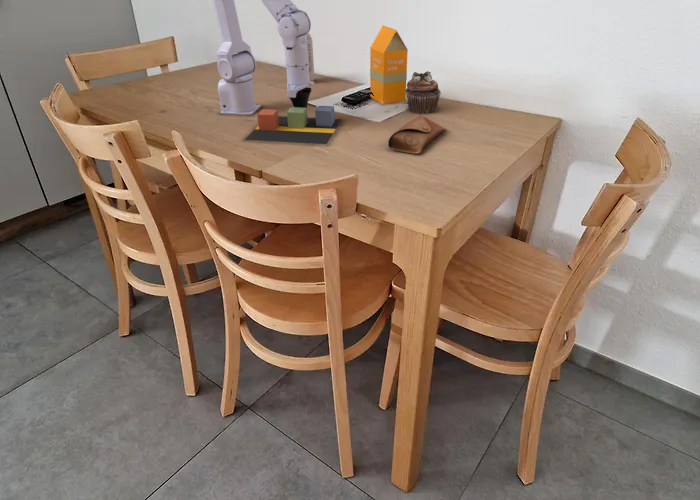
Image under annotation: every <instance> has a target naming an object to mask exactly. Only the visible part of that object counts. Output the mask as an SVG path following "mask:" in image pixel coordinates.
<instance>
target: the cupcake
mask: <svg viewBox="0 0 700 500" xmlns="http://www.w3.org/2000/svg"><path fill="white" fill-rule="evenodd" d="M432 75H433V74H432V73H431V71H428V70H427V71H425V72H424V73H418V72H417V71H414V72H413V73H412V75H411V79H410V80H408V81H407V82H406V101H407V107H408V110H409V111H410V112H413V113H416V114H421V113H422V114H431V113H434V112H436V111H437V108H438V105H439V100H440V97H441V94H442V91H441V90H440V89H439V83H438V82H437V81H436V80H435V79H433V77H432Z"/></svg>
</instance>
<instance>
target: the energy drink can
mask: <svg viewBox="0 0 700 500" xmlns="http://www.w3.org/2000/svg"><path fill="white" fill-rule="evenodd" d="M307 48H308V63H309V76H310V81H314V80H315V63H314V62H315V61H314V45H313V38H312V36H311V33H310V32H309V33H308V34H307Z"/></svg>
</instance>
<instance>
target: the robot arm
mask: <svg viewBox="0 0 700 500" xmlns="http://www.w3.org/2000/svg"><path fill="white" fill-rule="evenodd" d="M211 2H212V6H213V10H214V14H215V19H216V23H217V27H218V31H219V36H220V40H221V45H220V46H219V48H218V49H217V52H216V56H217V64H216V65H217V71H218V74H219V76H220V77H221V79H219V81H218V82H217V93H218V99H219V105H220V114H223V115H224V114H225V115H246V116H247V115H248V116H251V115H253V114H254V113H255V112H256V111H257V110H258V109H260V108H261V107H262V105H261V104H256V100H255V99H256V98H255V91H254V84H253V83H254V82H253V78H254V73H255V72H256V69H257V61H256V58H255V56H254V54H253V53H252V50H251V46H250V45H249V44H248V43H246V41H244V40H243V36H242V31H241V27H240V22H239V17H238V12H237V9H236V8H237V7H236V4H235V0H211ZM261 2H262V4H263V5H264V6H265V8H266V9H267V10H268V12H269V13H270V14H271V16H272V17H273V19H274V20H275V21H276V23H277V27H276V28H277V32H278V34H279V36H280V38H281V41H282V45H283V47H284V57H285V69H286V78H287V80H286V81H287V82H286V87H287V89H286V95H287V98H289V100H290V102H291V103H292V107H301V108H307V109H308V103H309V99H310V95H311V93H312V88H311V87H313V86H314V85H315V81H314V80H313V81H310V76H309V63H308V48H307V34H308V33H310V31H311V28H312V22H311V19H310V17H309V15H308V13H307V11H304V10H302V9H300V8H298V7H297V5H295V3H293V1H292V0H261Z"/></svg>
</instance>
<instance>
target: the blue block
mask: <svg viewBox="0 0 700 500" xmlns="http://www.w3.org/2000/svg"><path fill="white" fill-rule="evenodd" d="M314 114H315V115H314V118H316V126H325V127H332V125H333V124H334V122H335V119H336V118H335V117H336V116H335V115H336V113H335V105H318V106H317V107H316V109H315V110H314Z"/></svg>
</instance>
